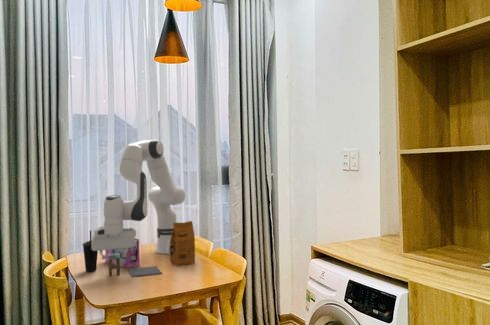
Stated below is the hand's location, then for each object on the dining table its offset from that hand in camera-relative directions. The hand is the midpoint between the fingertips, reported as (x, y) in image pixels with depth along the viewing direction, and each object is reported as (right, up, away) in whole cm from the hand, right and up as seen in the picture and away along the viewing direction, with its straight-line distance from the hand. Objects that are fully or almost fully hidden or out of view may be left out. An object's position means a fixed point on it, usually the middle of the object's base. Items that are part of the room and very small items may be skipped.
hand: (114, 258), depth 198 cm
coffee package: (+30, -8, +20) cm, 37 cm away
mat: (+14, -8, +3) cm, 16 cm away
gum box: (-3, -8, +22) cm, 23 cm away
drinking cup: (-14, -8, +7) cm, 18 cm away
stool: (0, -8, 0) cm, 8 cm away
